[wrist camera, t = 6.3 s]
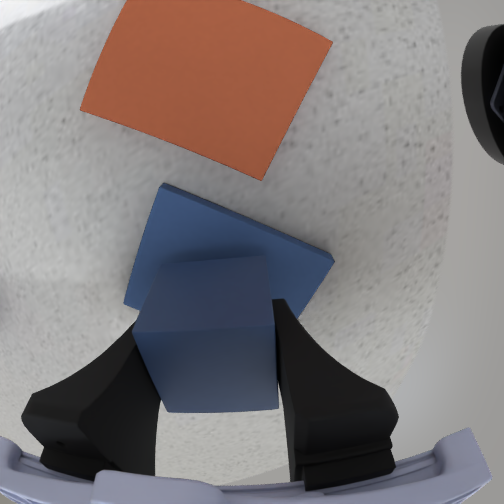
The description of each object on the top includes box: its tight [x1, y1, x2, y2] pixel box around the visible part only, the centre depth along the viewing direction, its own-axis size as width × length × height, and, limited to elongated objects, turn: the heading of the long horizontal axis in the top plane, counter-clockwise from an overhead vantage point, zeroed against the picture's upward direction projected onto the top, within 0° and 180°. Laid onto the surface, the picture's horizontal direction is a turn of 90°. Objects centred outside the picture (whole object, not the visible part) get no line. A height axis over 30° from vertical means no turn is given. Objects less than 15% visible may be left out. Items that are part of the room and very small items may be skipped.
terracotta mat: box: [80, 0, 333, 181], centre depth 11 cm, size 9×7×1 cm
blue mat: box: [123, 183, 335, 318], centre depth 16 cm, size 9×7×1 cm
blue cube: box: [132, 255, 279, 413], centre depth 12 cm, size 4×4×4 cm
